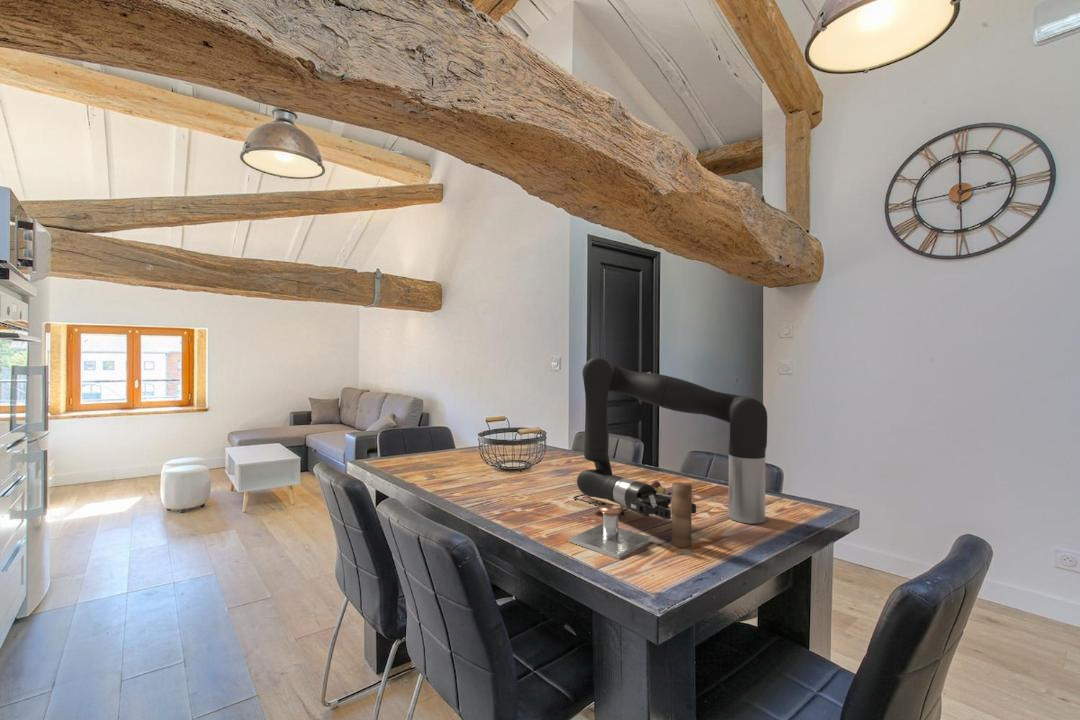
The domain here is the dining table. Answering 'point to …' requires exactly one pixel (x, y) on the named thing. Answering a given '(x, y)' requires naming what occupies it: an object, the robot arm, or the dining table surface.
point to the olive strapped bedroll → (658, 488)
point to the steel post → (611, 536)
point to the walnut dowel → (681, 515)
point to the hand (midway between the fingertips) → (682, 511)
